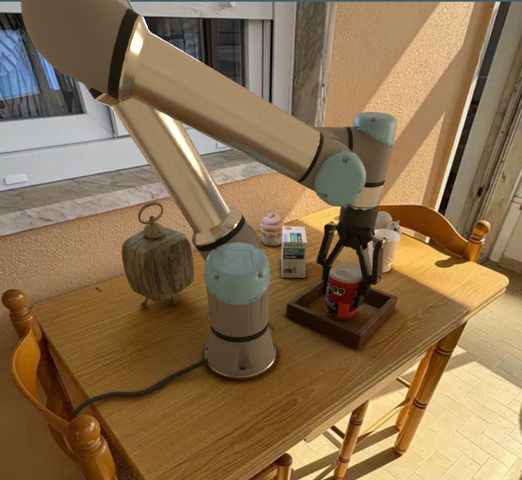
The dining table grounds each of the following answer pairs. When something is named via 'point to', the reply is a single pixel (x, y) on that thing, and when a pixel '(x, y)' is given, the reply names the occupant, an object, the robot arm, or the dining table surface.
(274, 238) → the cupcake
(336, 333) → the crate
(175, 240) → the tabletop clock
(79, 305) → the dining table surface
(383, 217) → the grey animal figurine
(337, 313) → the canned food
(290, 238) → the light bulb box
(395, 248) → the white cup
